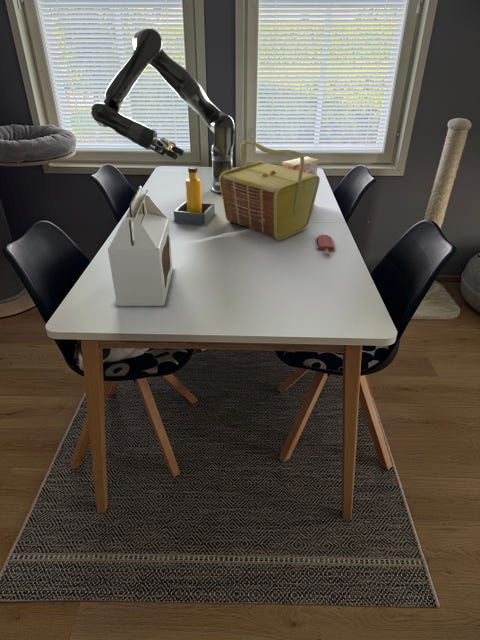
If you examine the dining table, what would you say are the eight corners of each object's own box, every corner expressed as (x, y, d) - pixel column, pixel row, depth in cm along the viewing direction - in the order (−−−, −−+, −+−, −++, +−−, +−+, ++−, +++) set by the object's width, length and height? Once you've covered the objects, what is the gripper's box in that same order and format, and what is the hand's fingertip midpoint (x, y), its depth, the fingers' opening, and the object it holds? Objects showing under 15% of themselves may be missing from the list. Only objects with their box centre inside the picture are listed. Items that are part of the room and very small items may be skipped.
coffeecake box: (290, 213, 187) (294, 165, 177) (278, 208, 192) (281, 161, 181) (314, 205, 196) (319, 159, 185) (301, 201, 200) (306, 155, 189)
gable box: (164, 306, 126) (154, 210, 110) (116, 306, 125) (100, 209, 110) (172, 269, 144) (165, 182, 128) (131, 269, 144) (119, 182, 128)
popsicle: (320, 251, 153) (316, 234, 166) (319, 255, 154) (316, 238, 166) (335, 252, 153) (331, 234, 165) (335, 256, 154) (330, 238, 166)
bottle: (198, 213, 184) (196, 164, 173) (204, 218, 180) (202, 168, 169) (185, 216, 182) (182, 166, 171) (191, 220, 178) (189, 170, 167)
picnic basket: (317, 227, 175) (326, 146, 158) (275, 247, 159) (280, 160, 143) (260, 208, 191) (263, 134, 175) (217, 225, 176) (215, 144, 159)
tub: (185, 211, 188) (185, 200, 185) (214, 214, 185) (214, 203, 182) (174, 222, 178) (173, 211, 175) (204, 225, 175) (204, 214, 172)
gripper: (138, 128, 165) (178, 148, 166) (151, 124, 177) (188, 143, 178) (132, 147, 168) (171, 167, 170) (145, 142, 181) (181, 161, 182)
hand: (180, 155), depth 174 cm, fingers open, 8 cm apart
